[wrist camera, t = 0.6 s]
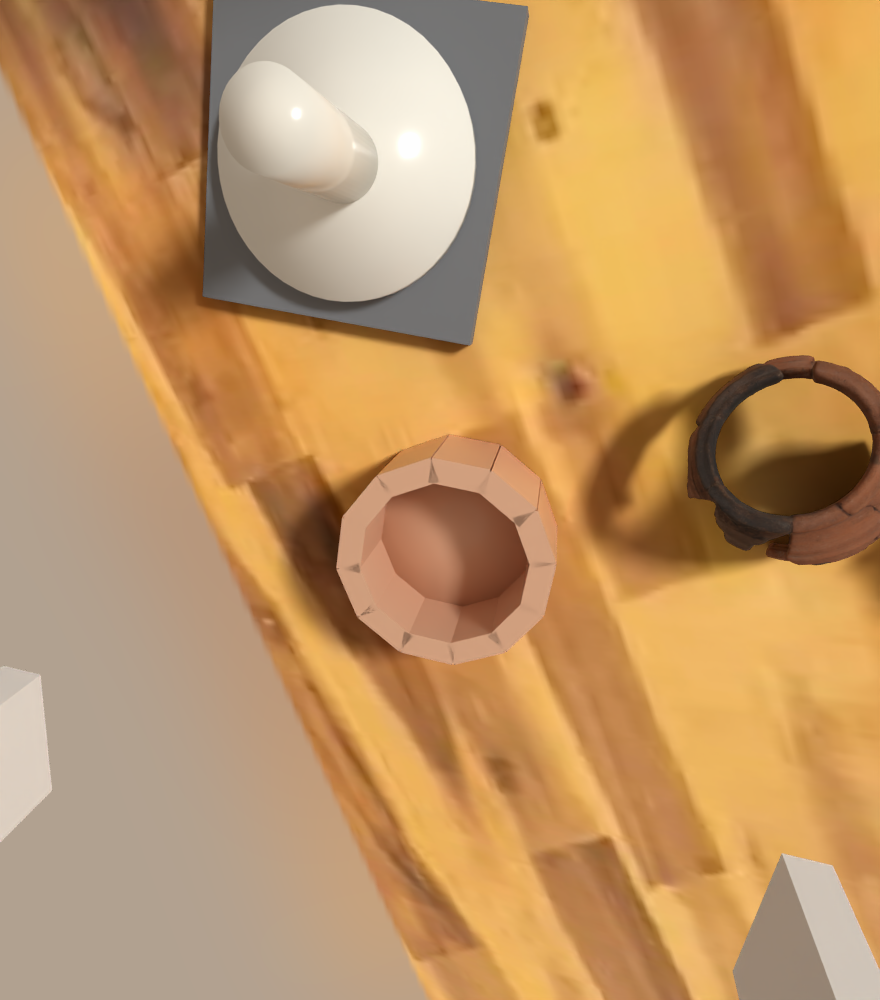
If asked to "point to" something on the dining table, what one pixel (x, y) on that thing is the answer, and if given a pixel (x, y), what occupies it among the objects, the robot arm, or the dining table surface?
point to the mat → (490, 98)
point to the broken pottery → (812, 536)
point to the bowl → (450, 550)
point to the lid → (346, 153)
